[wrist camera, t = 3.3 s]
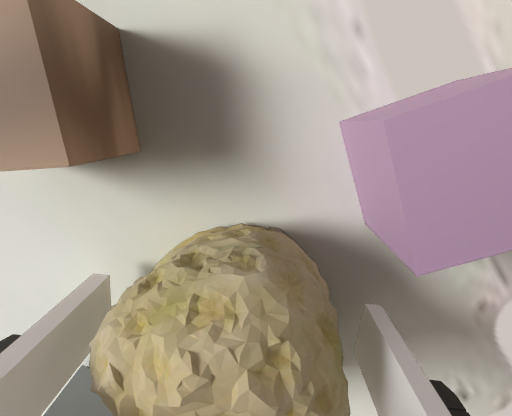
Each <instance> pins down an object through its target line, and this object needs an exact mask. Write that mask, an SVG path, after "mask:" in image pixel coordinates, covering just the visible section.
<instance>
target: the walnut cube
mask: <svg viewBox="0 0 512 416" xmlns="http://www.w3.org/2000/svg"><path fill="white" fill-rule="evenodd" d="M137 152H141V151H140V146H139V140H138V135H137V129H136V124H135V118H134V113H133V107H132V102H131V96H130V91H129V85H128V80H127V74H126V69H125V63H124V58H123V52H122V47H121V41H120V36H119V30H118V28H116V27H115V26H113V25H112V24H110V23H109V22H107V21H106V20H104V19H103V18H101V17H100V16H98V15H96V14H95V13H93V12H92V11H90V10H89V9H87V8H86V7H84V6H83V5H81V4H80V3H78V2H77V1H75V0H0V171H14V170H28V169H43V168H57V167H70V166H75V165H80V164H85V163H89V162H94V161H99V160H103V159H108V158H113V157H118V156H122V155H127V154H132V153H137Z"/></svg>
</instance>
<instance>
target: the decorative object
mask: <svg viewBox="0 0 512 416" xmlns="http://www.w3.org/2000/svg"><path fill="white" fill-rule="evenodd" d="M89 347H90V349H91V354H90V361H89V370H90V374H91V377H92V385H91V390H90V392H93V393H96V394H97V395H99V396H100V397H101V399H102V401H103V403H104V404H105V405H106V406H107V408H108V409H109V410H110V411H111V412H112V414H113V416H350V407H349V400H348V381H347V379H346V377H345V375H344V373H343V368H342V365H343V350H342V345H341V339H340V335H339V330H338V321H337V310H336V308H335V307H334V306H333V305H332V304H331V302H330V299H329V289H328V285H327V282H326V281H325V280H324V279H323V278H322V277H321V275H320V273H319V269H318V265H317V264H316V263H315V262H314V261H313V260H312V259H311V258H310V257H309V256H307V255H306V254H305V252H304V251H303V249H301V248H300V247H299V245H298V244H297V243H295V242H294V241H293V240H292V239H290V238H289V237H288V236H287V235H285V234H284V233H283V232H282V231H281V230H280V229H279V228H272V227H269V229H268V230H266V229H265V228H262V227H252V226H248V225H245V224H242V223H241V224H238V225H235V226H231V227H229V228H226V227H216V228H213V229H211V230H207V231H203V232H199V233H196V234H195V235H194V236H192V237H190V238H189V239H187V240H185V241H183V242H182V243H180V244H179V245H177V246H176V247H175V248H173V249H172V250H171V251H170V252H169V253H168V254H167V255H166V256H165V257H164V258H163V259H161V260H160V262H159V263H158V264H157V265H156V266H155V267H154V270H153V271H152V272H151V273H150V274H149V275H147V276H145V277H141V278H139V279H138V280H136V281H135V282H134V284H133V286H131V287H129V288H127V289H126V290H125V291H124V293H123V294H122V295H121V297H120V299H119V301H118V303H117V304H116V305H113V306H111V310H110V311H108V312H107V314H106V316H105V318H104V319H103V321H102V323H101V325H100V328H99V330H98V332H97V334H96V336H95V338H94V339H93V340H92V341H91V342H90V343H89Z"/></svg>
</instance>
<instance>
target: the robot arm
mask: <svg viewBox="0 0 512 416" xmlns="http://www.w3.org/2000/svg"><path fill="white" fill-rule="evenodd" d="M110 310H111V294H110V275H104V274H92V275H91V276H90V277H89V278H88V279H87V280H85V281H84V282H83V283H82V284H81V285H80V286H78V287H77V288H76V289H75V290H74V291H73V292H71V293H70V294H69V295H68V296H67V297H66V298H64V299H63V300H62V301H61V302H60V303H59V304H57V305H56V306H55V307H54V308H53V309H52V310H50V311H49V312H48V313H47V314H46V315H45V316H43V317H42V318H41V319H40V320H39V321H38V322H36V323H35V324H34V325H33V326H32V327H31V328H29V329H28V330H27V331H26V332H25V333H24V334H22V335H15V334H13V335H11V336H9V337H7V338H5V339H3V340H2V341H0V416H41V414H42V413H43V412H44V411H45V409H46V408H47V407H48V405H49V404H50V403H51V402H52V400H53V399H54V398H55V396H56V395H57V394H58V393H59V391H60V390H61V389H62V387H63V386H64V385H65V384H66V382H67V381H68V380H69V378H70V377H71V376H72V374H73V373H74V372H75V371H76V369H77V368H78V367H79V365H80V364H81V363H82V362H83V360H84V359H85V358H86V356H87V355H88V354H89V353H90V351H91V349H90V347H89V343H90V342H91V341H92V340H93V339H94V338H95V336H96V334H97V332H98V330H99V328H100V325H101V323H102V321H103V319H104V318H105V316H106V314H107V312H108V311H110ZM353 351H354V354H355V356H356V359H357V361H358V364H359V367H360V369H361V372H362V374H363V377H364V379H365V382H366V385H367V387H368V390H369V392H370V395H371V397H372V400H373V403H374V405H375V408H376V410H377V413H378V416H470V415H469V413H467V412H466V409H465V408H464V406H463V405H462V403H461V402H460V400H459V399H458V398H457V396H456V395H455V394H454V393H453V392H452V391H451V390H450V389H449V388H448V387H447V386H446V385H444V384H443V383H442V382H441V381H435V380H429V379H428V378H427V376H426V375H425V373H424V372H423V370H422V368H421V367H420V365H419V364H418V362H417V361H416V359H415V357H414V356H413V354H412V353H411V351H410V350H409V348H408V347H407V345H406V343H405V342H404V340H403V339H402V337H401V336H400V334H399V332H398V331H397V329H396V328H395V326H394V325H393V323H392V322H391V320H390V318H389V317H388V315H387V314H386V312H385V311H384V309H383V307H382V306H381V305H375V304H366V303H365V305H364V309H363V313H362V318H361V322H360V326H359V330H358V334H357V338H356V342H355V346H354V350H353Z"/></svg>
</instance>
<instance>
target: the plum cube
mask: <svg viewBox="0 0 512 416" xmlns="http://www.w3.org/2000/svg"><path fill="white" fill-rule="evenodd" d="M339 124H340V128H341V132H342V135H343V139H344V143H345V147H346V151H347V155H348V159H349V163H350V167H351V171H352V175H353V178H354V182H355V186H356V190H357V194H358V198H359V202H360V206H361V210H362V214H363V218H364V221H365V224H366V225H367V226H368V227H369V228H370V229H371V230H372V231H373V232H374V233H375V234H376V235H377V236H378V237H379V238H380V239H381V240H382V241H383V242H384V243H385V244H386V245H387V246H388V247H389V248H390V249H391V250H392V251H393V252H394V253H395V254H396V255H397V256H398V257H399V258H400V260H401V261H402V262H403V263H404V264H405V265H406V266H407V267H408V268H409V269H410V270H411V271H412V272H413V273H414V274H415V275H416V276H420V275H424V274H427V273H431V272H435V271H438V270H442V269H446V268H449V267H453V266H457V265H460V264H464V263H468V262H472V261H475V260H479V259H483V258H486V257H490V256H494V255H497V254H501V253H505V252H508V251H512V68H509V69H505V70H500V71H496V72H492V73H487V74H483V75H479V76H475V77H470V78H466V79H462V80H457V81H454V82H451V83H448V84H445V85H442V86H440V87H437V88H434V89H431V90H428V91H425V92H422V93H420V94H417V95H414V96H411V97H408V98H406V99H403V100H400V101H397V102H394V103H391V104H389V105H386V106H383V107H380V108H377V109H374V110H371V111H369V112H366V113H363V114H360V115H357V116H354V117H351V118H349V119H346V120H343V121H340V122H339Z"/></svg>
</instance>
